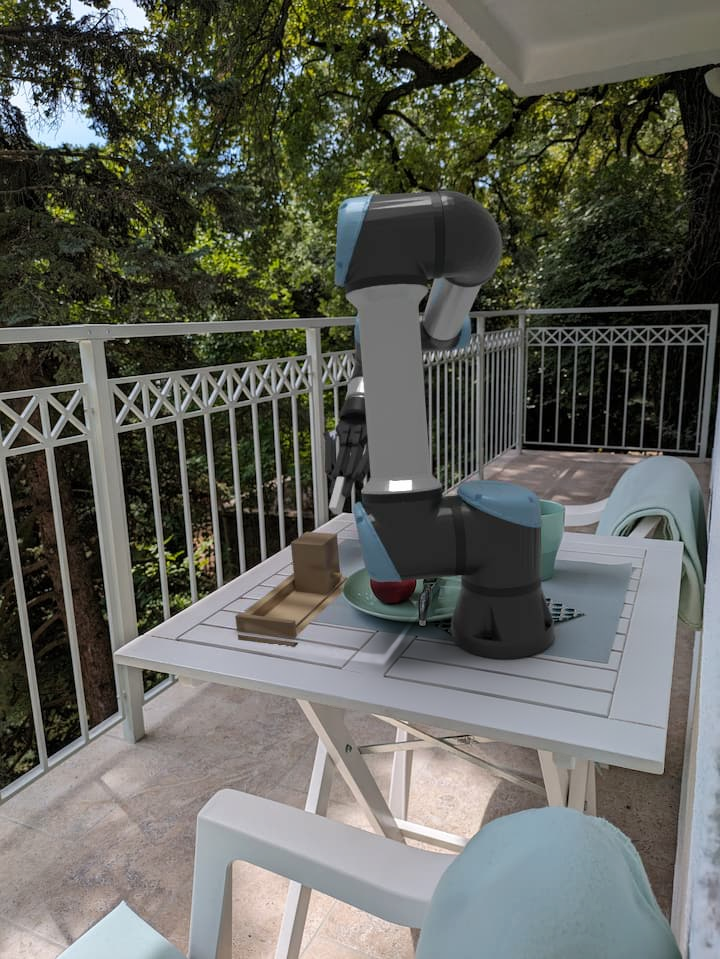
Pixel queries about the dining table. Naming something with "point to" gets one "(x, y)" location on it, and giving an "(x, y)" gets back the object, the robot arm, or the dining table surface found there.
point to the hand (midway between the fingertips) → (335, 510)
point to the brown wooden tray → (284, 612)
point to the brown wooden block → (316, 562)
